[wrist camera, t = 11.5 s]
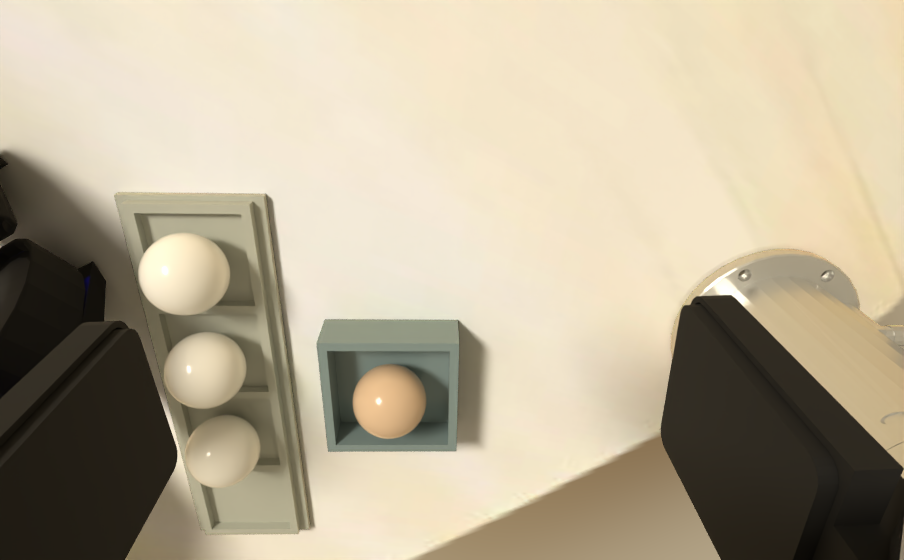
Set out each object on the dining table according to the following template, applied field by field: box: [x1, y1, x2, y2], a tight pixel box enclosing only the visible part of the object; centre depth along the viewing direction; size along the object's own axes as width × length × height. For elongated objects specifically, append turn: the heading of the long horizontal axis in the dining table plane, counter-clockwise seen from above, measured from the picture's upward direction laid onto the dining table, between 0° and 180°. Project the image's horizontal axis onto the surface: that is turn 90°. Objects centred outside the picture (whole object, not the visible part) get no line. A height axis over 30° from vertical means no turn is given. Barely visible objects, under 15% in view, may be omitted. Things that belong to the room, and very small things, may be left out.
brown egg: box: [353, 364, 426, 439], centre depth 39 cm, size 5×5×5 cm
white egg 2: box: [164, 332, 247, 409], centre depth 37 cm, size 5×5×5 cm
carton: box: [114, 192, 310, 535], centre depth 41 cm, size 9×29×1 cm, turn 179°
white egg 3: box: [185, 415, 261, 488], centre depth 40 cm, size 5×5×5 cm
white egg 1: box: [138, 233, 230, 316], centre depth 34 cm, size 5×5×5 cm
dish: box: [317, 320, 459, 452], centre depth 40 cm, size 9×9×3 cm
